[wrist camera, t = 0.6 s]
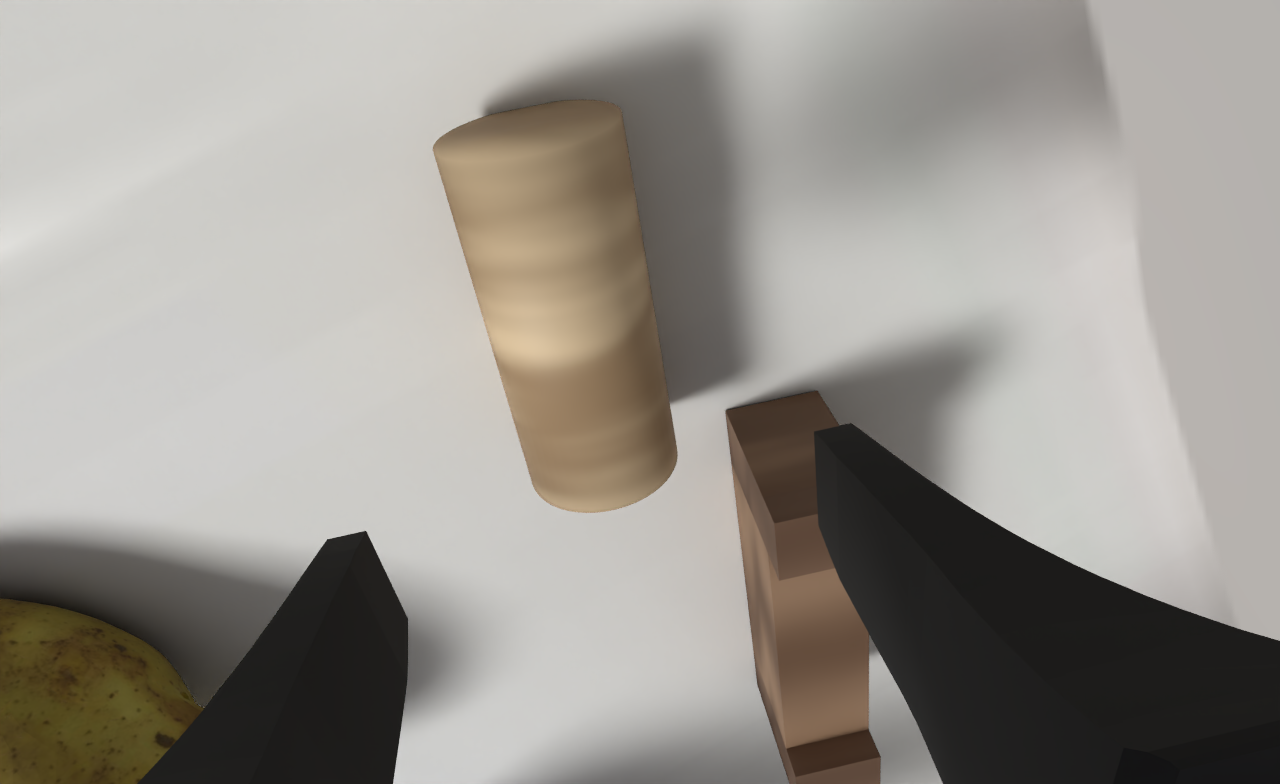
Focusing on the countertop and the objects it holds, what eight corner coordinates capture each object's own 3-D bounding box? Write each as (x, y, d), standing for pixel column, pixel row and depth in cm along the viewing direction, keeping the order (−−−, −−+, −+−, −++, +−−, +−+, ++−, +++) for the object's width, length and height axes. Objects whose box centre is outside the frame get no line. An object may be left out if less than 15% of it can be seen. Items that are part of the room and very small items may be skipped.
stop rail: (828, 668, 31) (879, 791, 27) (757, 685, 31) (798, 810, 27) (817, 390, 24) (885, 498, 20) (725, 410, 24) (774, 523, 19)
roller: (670, 408, 23) (685, 498, 20) (534, 430, 23) (527, 523, 20) (618, 89, 18) (626, 138, 15) (447, 119, 19) (417, 175, 15)
